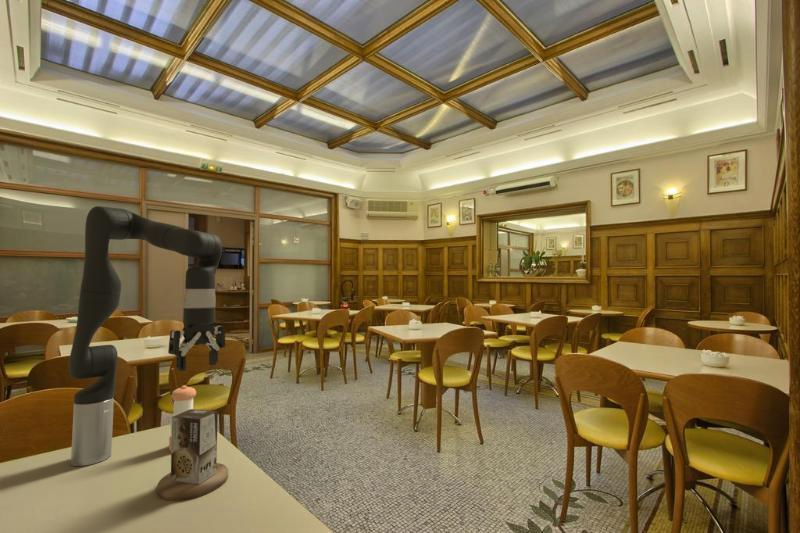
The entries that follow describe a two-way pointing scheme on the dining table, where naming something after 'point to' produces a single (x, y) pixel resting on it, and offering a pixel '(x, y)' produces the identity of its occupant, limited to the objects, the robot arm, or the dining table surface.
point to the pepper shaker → (182, 402)
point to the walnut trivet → (191, 486)
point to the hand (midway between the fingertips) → (197, 367)
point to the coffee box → (194, 446)
